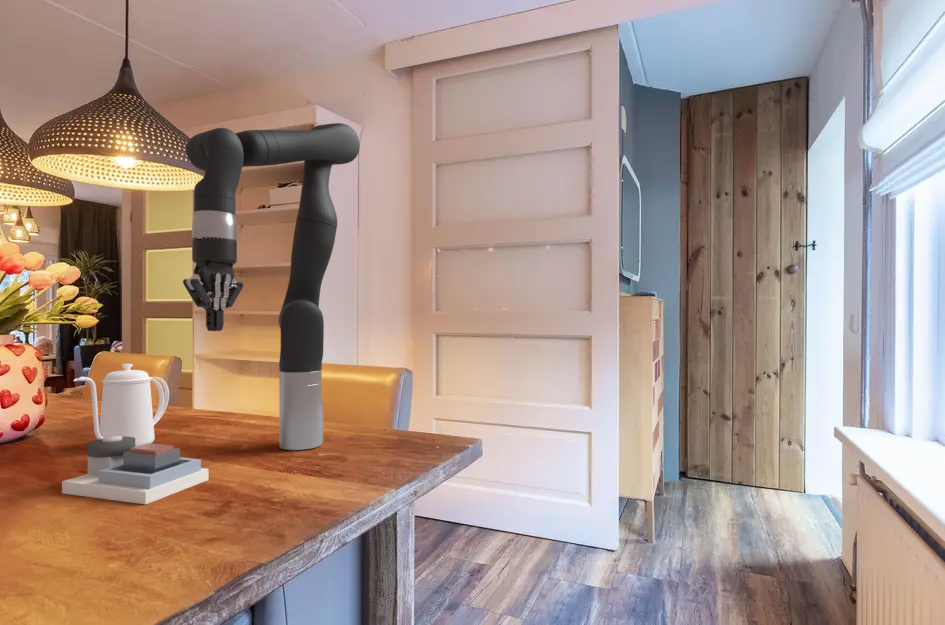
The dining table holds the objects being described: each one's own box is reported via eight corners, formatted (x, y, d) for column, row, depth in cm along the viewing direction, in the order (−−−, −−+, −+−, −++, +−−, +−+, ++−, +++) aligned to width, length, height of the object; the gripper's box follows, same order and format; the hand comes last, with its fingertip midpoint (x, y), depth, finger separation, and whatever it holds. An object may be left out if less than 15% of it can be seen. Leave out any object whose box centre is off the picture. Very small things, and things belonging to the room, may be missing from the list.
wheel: (115, 463, 99) (115, 432, 99) (144, 466, 97) (144, 434, 97) (77, 474, 92) (77, 440, 92) (108, 477, 90) (108, 443, 90)
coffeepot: (51, 459, 110) (52, 368, 110) (148, 433, 134) (148, 359, 134) (95, 462, 108) (96, 370, 108) (185, 435, 132) (186, 359, 132)
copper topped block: (149, 470, 95) (149, 442, 95) (179, 474, 93) (179, 444, 93) (123, 478, 91) (123, 448, 91) (155, 482, 89) (155, 452, 89)
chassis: (131, 471, 102) (132, 442, 102) (208, 479, 96) (208, 449, 96) (62, 493, 89) (62, 460, 89) (145, 504, 84) (145, 469, 84)
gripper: (224, 243, 107) (224, 329, 107) (169, 233, 94) (169, 331, 94) (255, 242, 105) (255, 330, 104) (203, 232, 92) (203, 332, 92)
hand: (214, 330), depth 99 cm, fingers closed
